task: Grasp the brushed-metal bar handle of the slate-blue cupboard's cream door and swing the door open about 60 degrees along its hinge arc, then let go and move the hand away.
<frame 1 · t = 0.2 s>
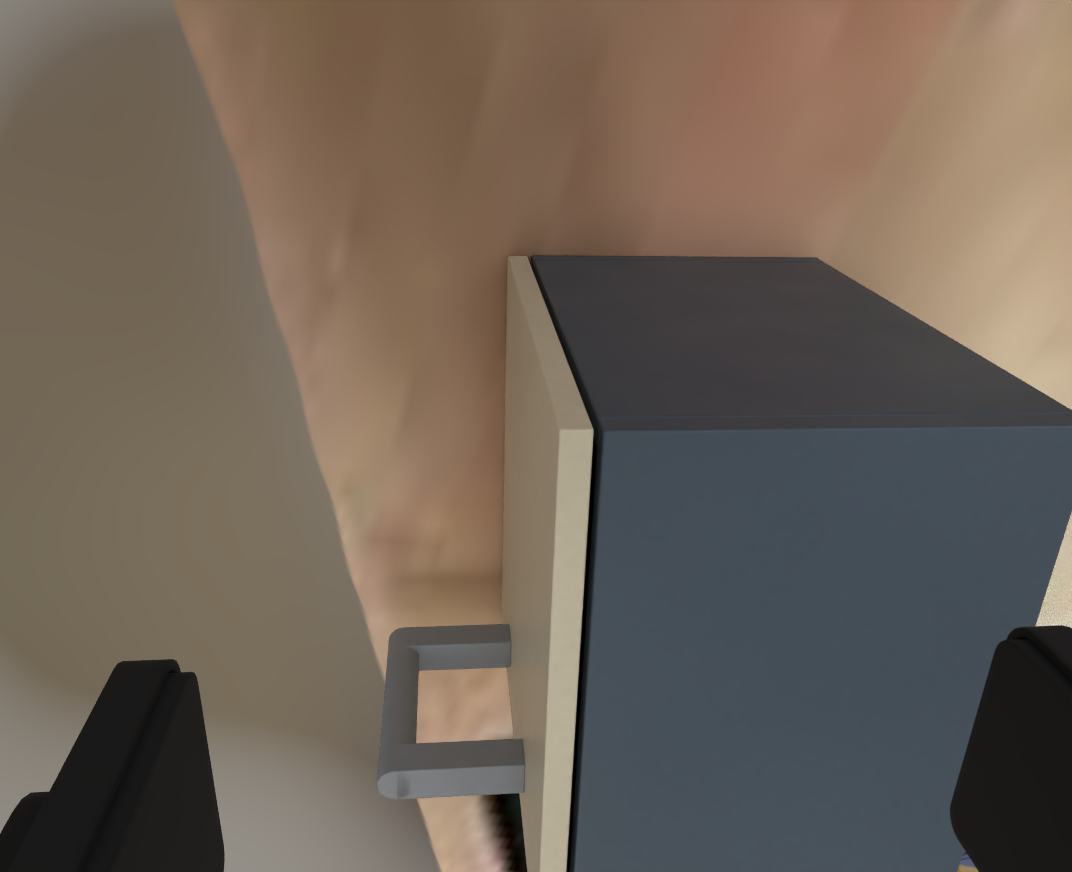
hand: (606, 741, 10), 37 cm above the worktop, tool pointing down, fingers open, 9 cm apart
cupboard: (658, 449, 50), on the worktop
cupboard door: (459, 559, 39), point 11 cm above the worktop, hinge at 0.0°
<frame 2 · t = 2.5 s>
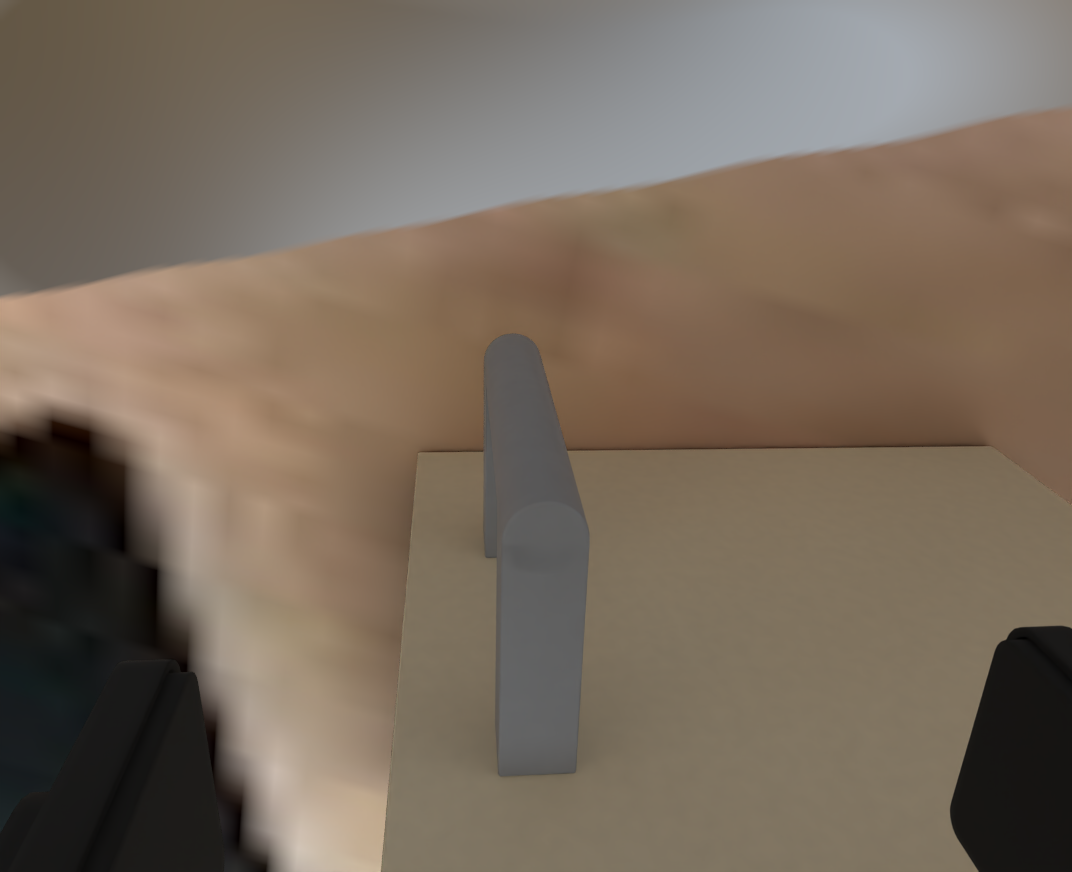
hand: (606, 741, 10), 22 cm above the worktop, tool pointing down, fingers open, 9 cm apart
cupboard door: (840, 532, 22), point 11 cm above the worktop, hinge at 0.0°
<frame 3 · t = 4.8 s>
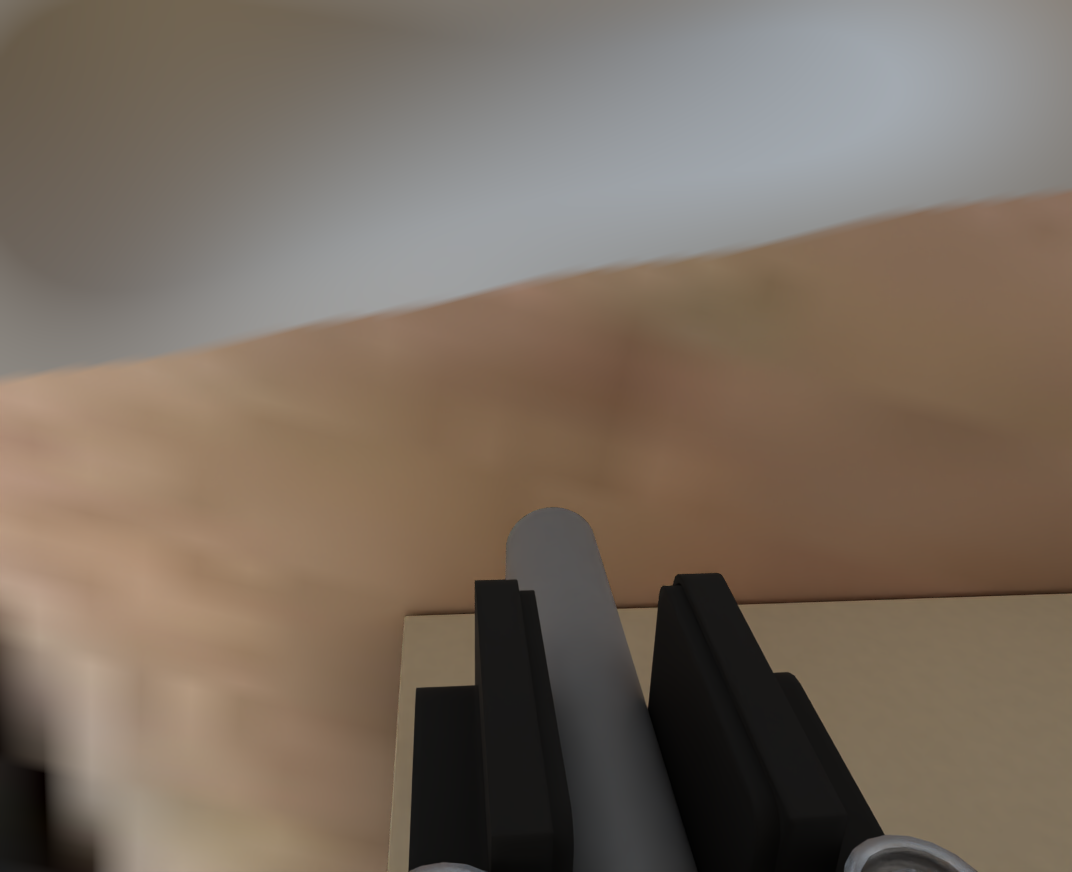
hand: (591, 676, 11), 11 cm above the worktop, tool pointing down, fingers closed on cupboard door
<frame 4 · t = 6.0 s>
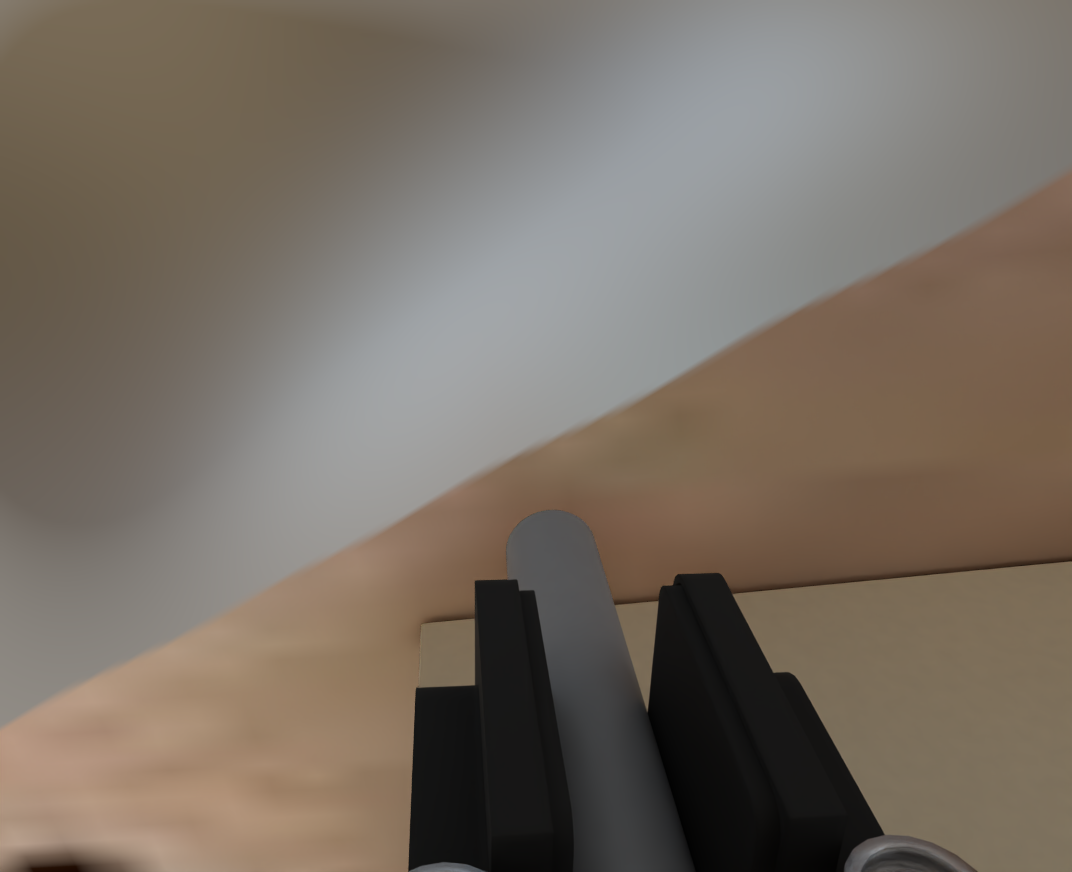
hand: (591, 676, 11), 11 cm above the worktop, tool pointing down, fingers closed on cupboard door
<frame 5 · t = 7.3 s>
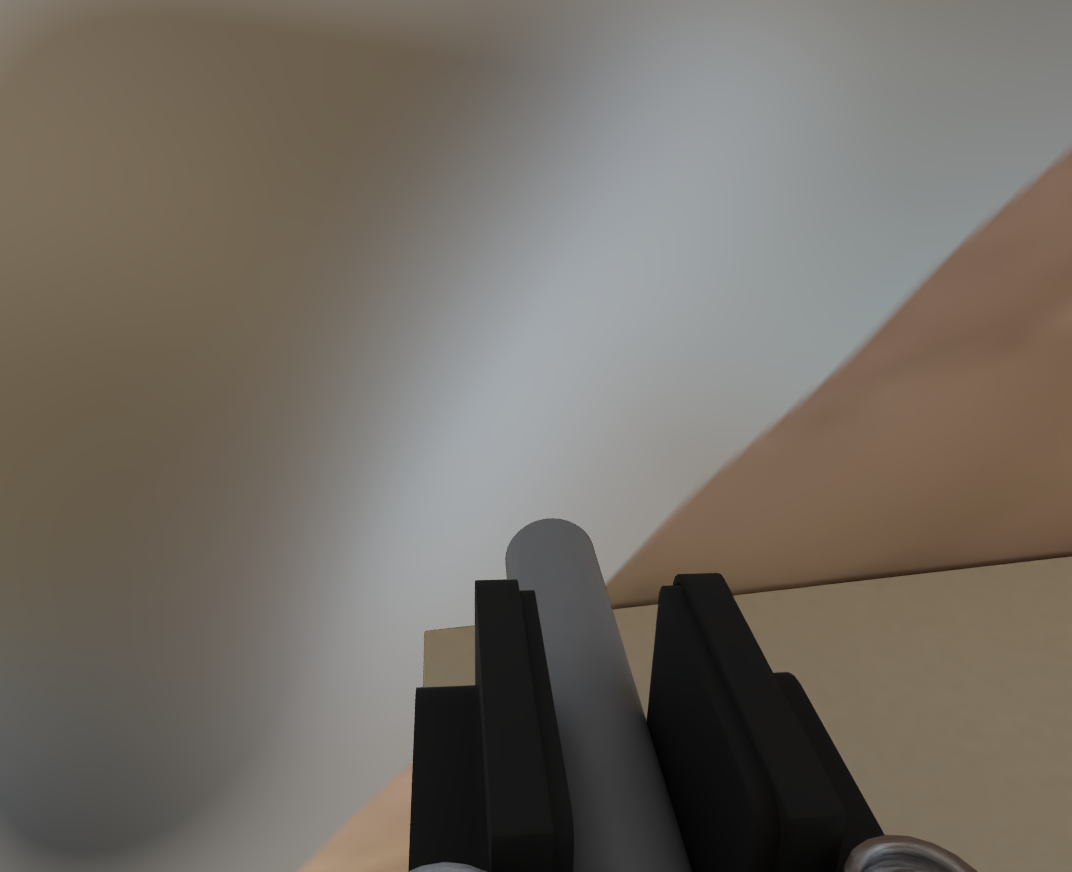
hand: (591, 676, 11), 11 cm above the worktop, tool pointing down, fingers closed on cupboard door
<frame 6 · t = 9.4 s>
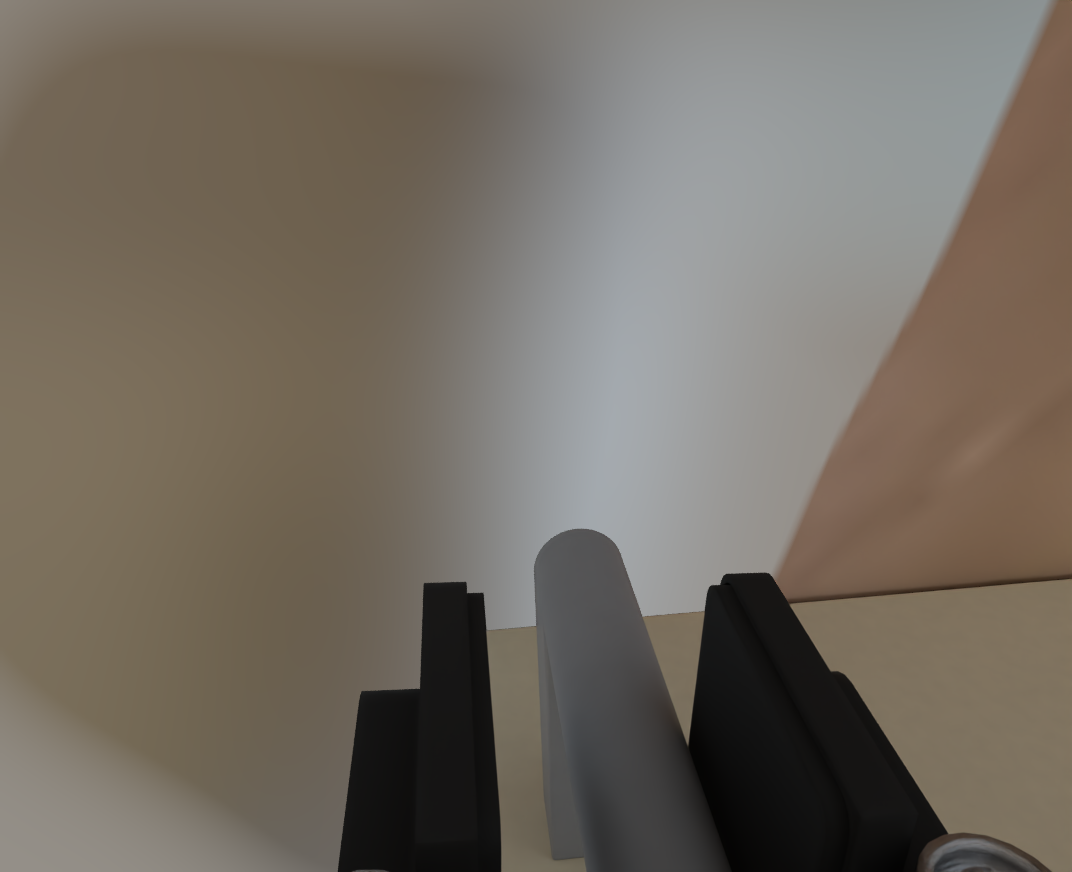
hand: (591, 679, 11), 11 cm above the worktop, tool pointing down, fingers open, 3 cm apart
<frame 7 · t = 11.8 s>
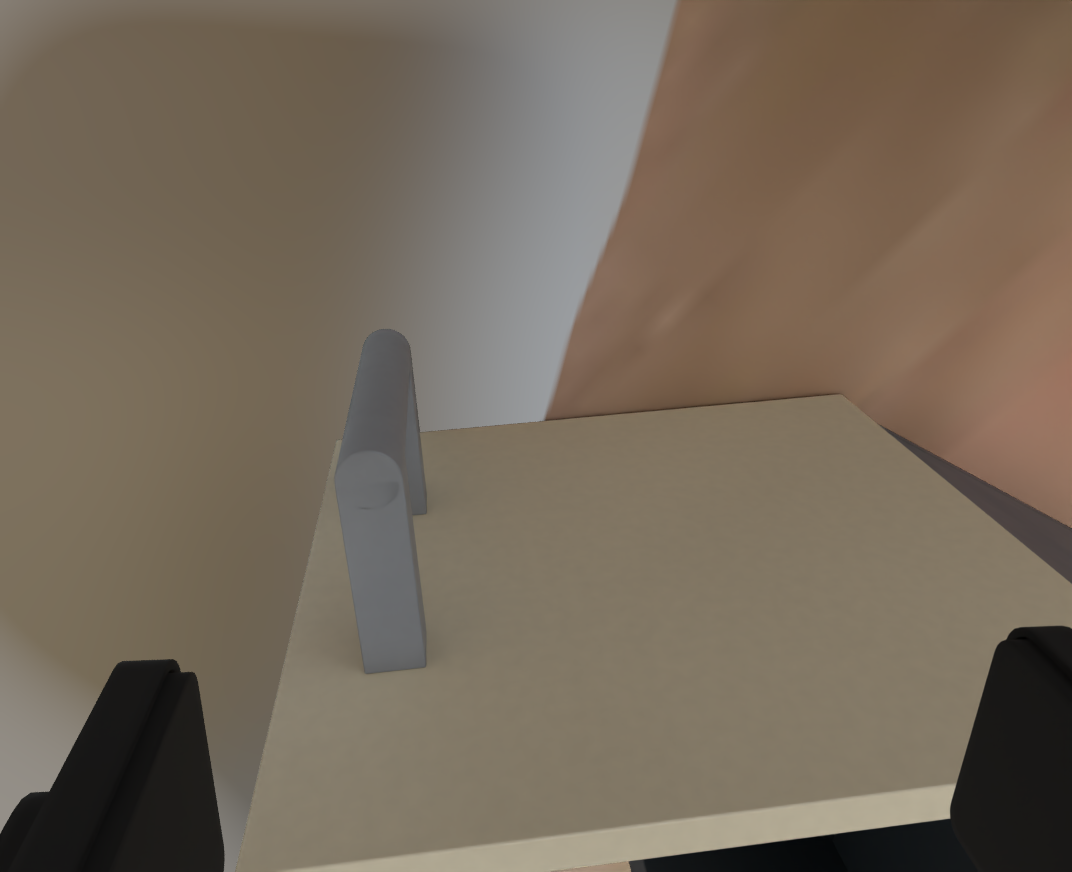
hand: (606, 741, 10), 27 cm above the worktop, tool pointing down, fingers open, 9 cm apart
cupboard: (838, 651, 45), on the worktop
cupboard door: (653, 468, 27), point 11 cm above the worktop, hinge at 58.1°
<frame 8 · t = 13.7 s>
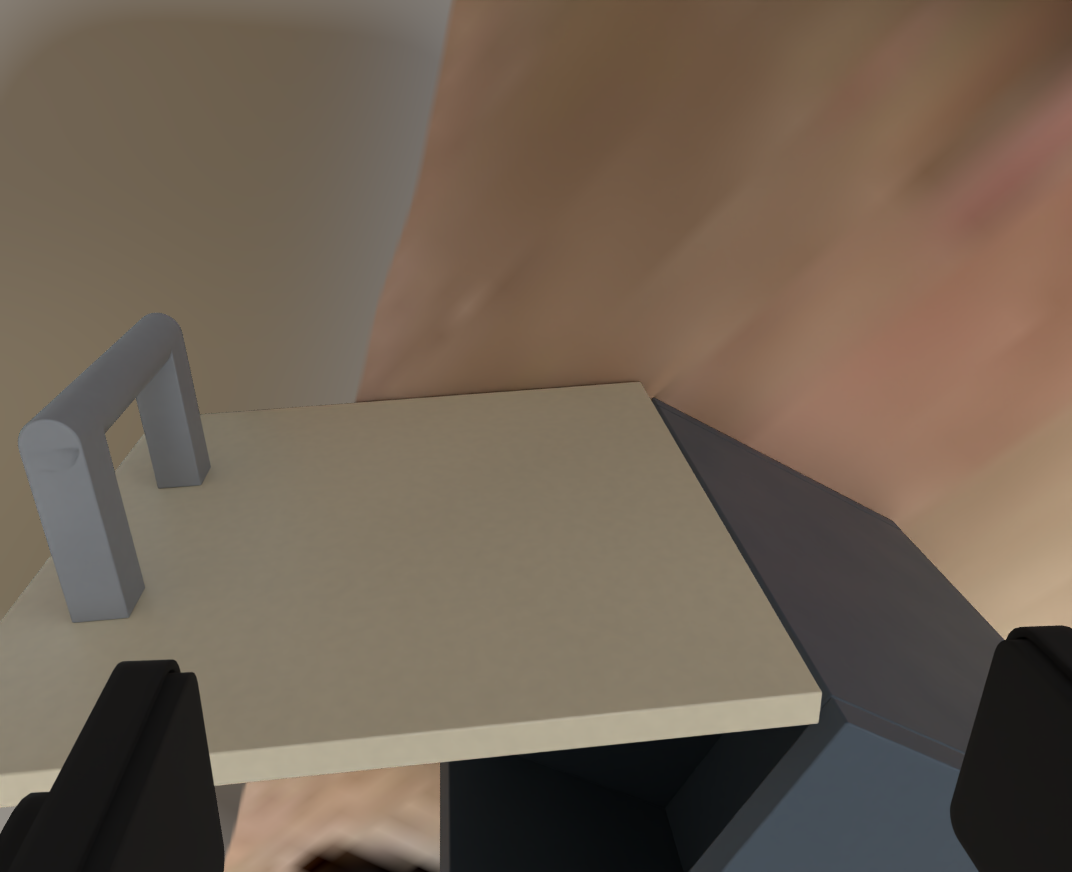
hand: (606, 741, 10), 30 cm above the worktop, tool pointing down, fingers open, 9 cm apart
cupboard: (660, 628, 47), on the worktop
cupboard door: (381, 443, 29), point 11 cm above the worktop, hinge at 58.1°
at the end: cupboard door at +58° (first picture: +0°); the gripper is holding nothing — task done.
